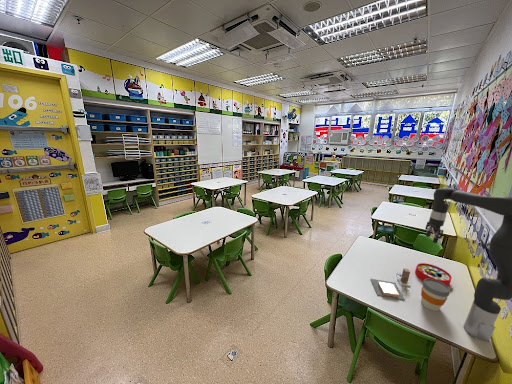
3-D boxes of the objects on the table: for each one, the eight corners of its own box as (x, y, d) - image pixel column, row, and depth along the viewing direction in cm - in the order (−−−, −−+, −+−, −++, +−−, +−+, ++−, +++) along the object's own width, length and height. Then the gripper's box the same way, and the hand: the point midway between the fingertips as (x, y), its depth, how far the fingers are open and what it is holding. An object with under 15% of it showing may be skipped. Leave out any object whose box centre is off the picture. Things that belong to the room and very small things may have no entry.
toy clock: (411, 261, 162) (439, 264, 159) (409, 268, 164) (437, 271, 161) (426, 278, 144) (459, 282, 140) (424, 285, 145) (456, 289, 142)
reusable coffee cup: (444, 317, 120) (452, 296, 116) (418, 306, 127) (424, 286, 122) (441, 303, 130) (448, 283, 126) (417, 294, 137) (422, 275, 132)
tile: (392, 286, 142) (398, 297, 133) (378, 284, 144) (383, 295, 135) (393, 284, 141) (399, 294, 132) (378, 281, 143) (383, 292, 134)
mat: (404, 300, 131) (405, 299, 131) (377, 295, 135) (377, 294, 135) (394, 283, 146) (395, 282, 146) (370, 279, 150) (370, 278, 150)
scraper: (410, 286, 143) (413, 273, 140) (400, 285, 145) (404, 272, 142) (406, 281, 149) (409, 268, 146) (397, 279, 150) (400, 266, 147)
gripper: (451, 222, 127) (444, 245, 132) (437, 214, 140) (431, 235, 145) (437, 221, 129) (430, 244, 133) (425, 213, 142) (419, 234, 147)
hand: (431, 239), depth 139 cm, fingers open, 8 cm apart
